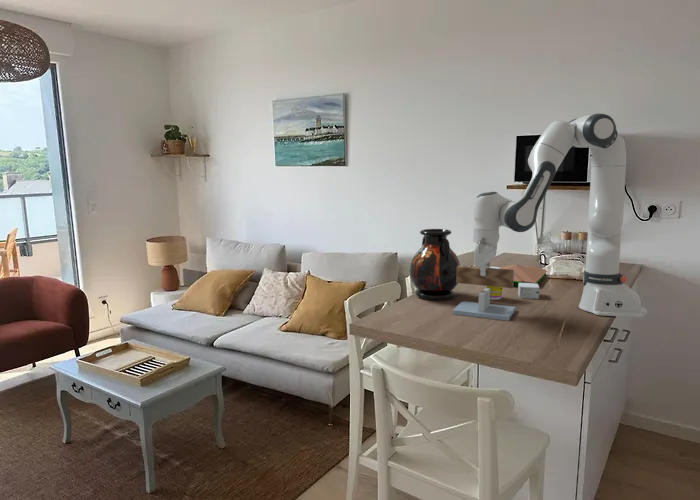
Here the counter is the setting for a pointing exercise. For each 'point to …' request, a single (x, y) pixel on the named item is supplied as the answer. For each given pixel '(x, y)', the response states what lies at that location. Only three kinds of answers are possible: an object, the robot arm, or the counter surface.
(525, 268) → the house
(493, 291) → the supplement bottle
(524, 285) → the small box
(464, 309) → the balance stand
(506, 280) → the wooden block
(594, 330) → the counter surface
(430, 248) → the amphora vase
